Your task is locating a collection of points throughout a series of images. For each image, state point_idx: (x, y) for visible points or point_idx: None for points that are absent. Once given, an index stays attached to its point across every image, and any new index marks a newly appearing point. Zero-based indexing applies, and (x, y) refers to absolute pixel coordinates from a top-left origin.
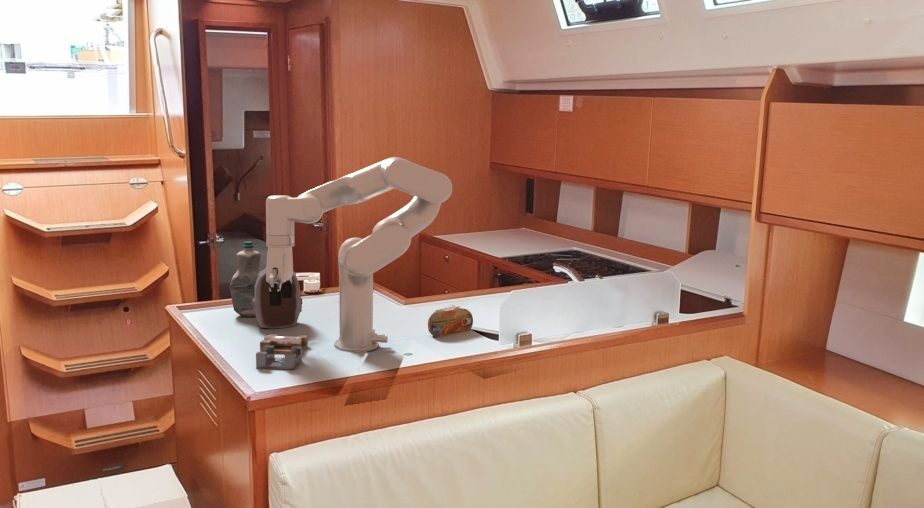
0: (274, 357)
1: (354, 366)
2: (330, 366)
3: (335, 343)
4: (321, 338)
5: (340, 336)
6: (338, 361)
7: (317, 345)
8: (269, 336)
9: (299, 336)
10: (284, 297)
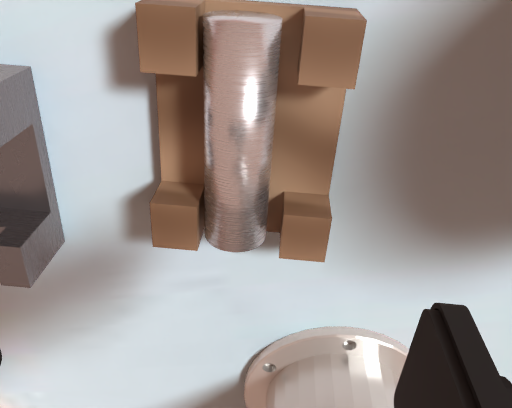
0: (29, 123)
1: (68, 396)
2: (41, 337)
3: (322, 341)
4: (463, 269)
5: (306, 390)
6: (108, 354)
7: (330, 267)
8: (227, 58)
9: (304, 226)
10: (413, 340)
